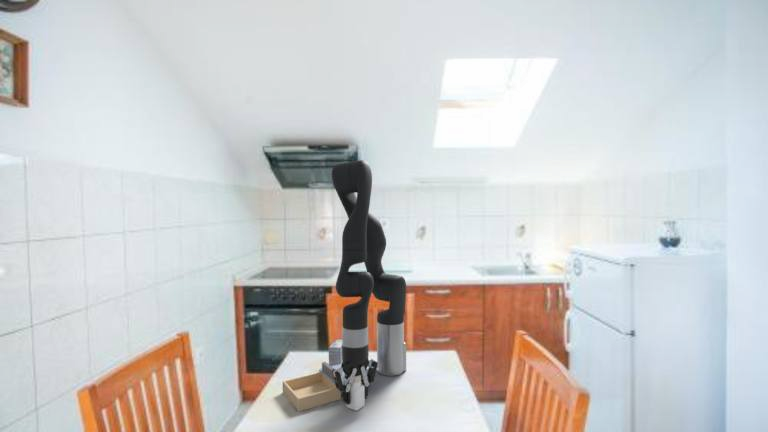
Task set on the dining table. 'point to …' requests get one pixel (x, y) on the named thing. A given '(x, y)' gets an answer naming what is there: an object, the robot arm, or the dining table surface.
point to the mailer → (310, 391)
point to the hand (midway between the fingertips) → (355, 400)
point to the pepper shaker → (357, 394)
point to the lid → (328, 369)
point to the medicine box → (335, 353)
